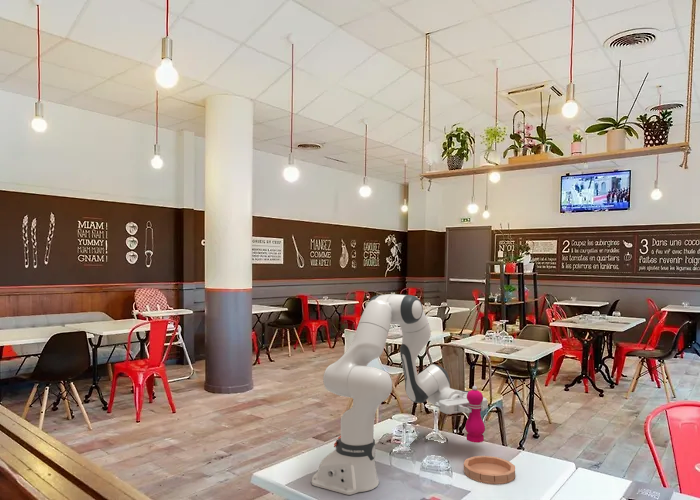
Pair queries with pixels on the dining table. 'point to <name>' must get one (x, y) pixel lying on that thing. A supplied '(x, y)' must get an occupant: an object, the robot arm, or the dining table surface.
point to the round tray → (489, 469)
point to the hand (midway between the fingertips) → (476, 410)
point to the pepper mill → (475, 417)
